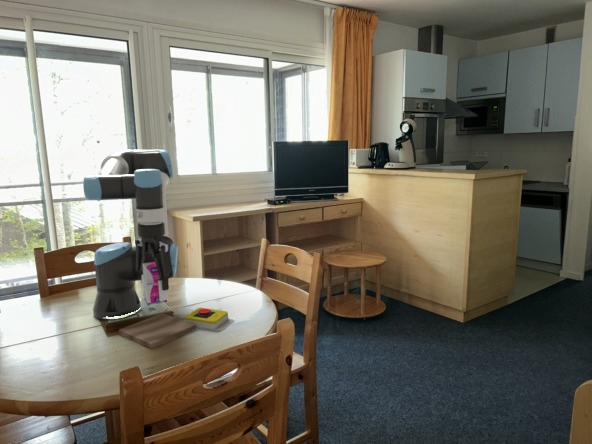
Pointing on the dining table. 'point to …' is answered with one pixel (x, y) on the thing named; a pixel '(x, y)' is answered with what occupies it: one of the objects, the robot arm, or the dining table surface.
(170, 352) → the dining table surface
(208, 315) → the emergency button
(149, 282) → the supplement box
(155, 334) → the walnut board
